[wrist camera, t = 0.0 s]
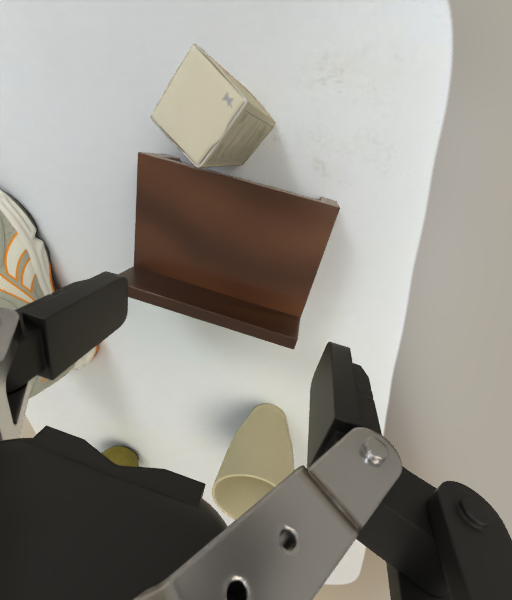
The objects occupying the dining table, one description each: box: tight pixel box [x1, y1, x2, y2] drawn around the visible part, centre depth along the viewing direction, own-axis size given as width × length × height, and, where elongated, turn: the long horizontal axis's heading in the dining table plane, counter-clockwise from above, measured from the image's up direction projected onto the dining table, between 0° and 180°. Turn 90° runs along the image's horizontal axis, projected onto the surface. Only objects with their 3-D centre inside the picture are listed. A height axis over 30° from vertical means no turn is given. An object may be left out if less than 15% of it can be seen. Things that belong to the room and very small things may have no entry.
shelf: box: [118, 152, 340, 349], centre depth 27 cm, size 12×18×9 cm, turn 77°
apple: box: [102, 446, 138, 467], centre depth 49 cm, size 8×8×7 cm
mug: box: [212, 404, 294, 520], centre depth 36 cm, size 11×10×12 cm
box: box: [151, 44, 276, 168], centre depth 22 cm, size 5×4×11 cm
